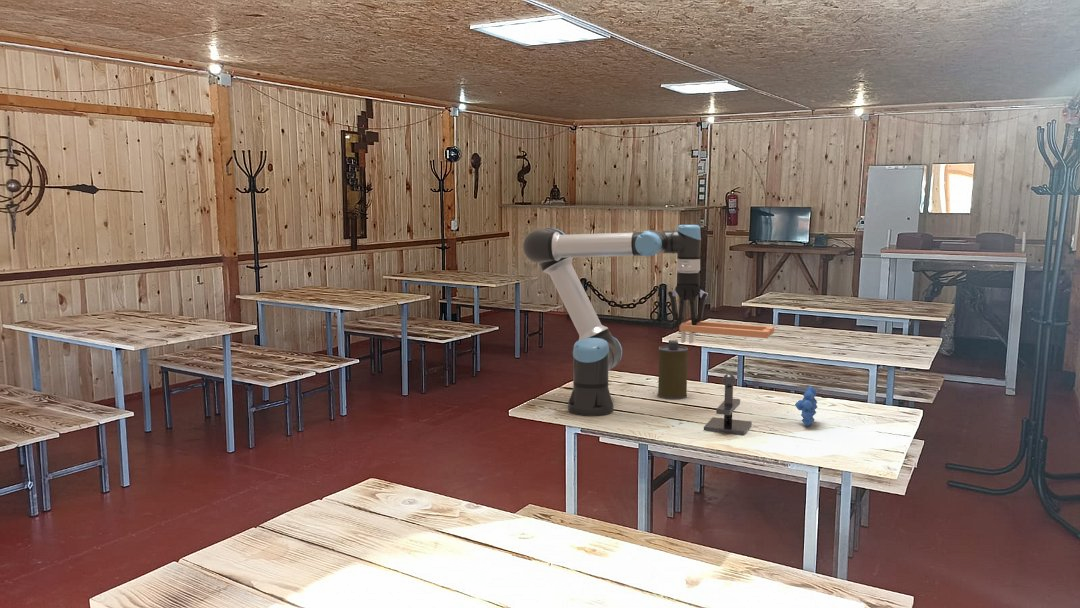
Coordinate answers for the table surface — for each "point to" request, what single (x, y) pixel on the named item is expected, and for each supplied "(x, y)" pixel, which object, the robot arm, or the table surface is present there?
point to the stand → (728, 412)
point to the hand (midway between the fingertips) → (687, 342)
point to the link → (728, 329)
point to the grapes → (808, 406)
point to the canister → (672, 371)
